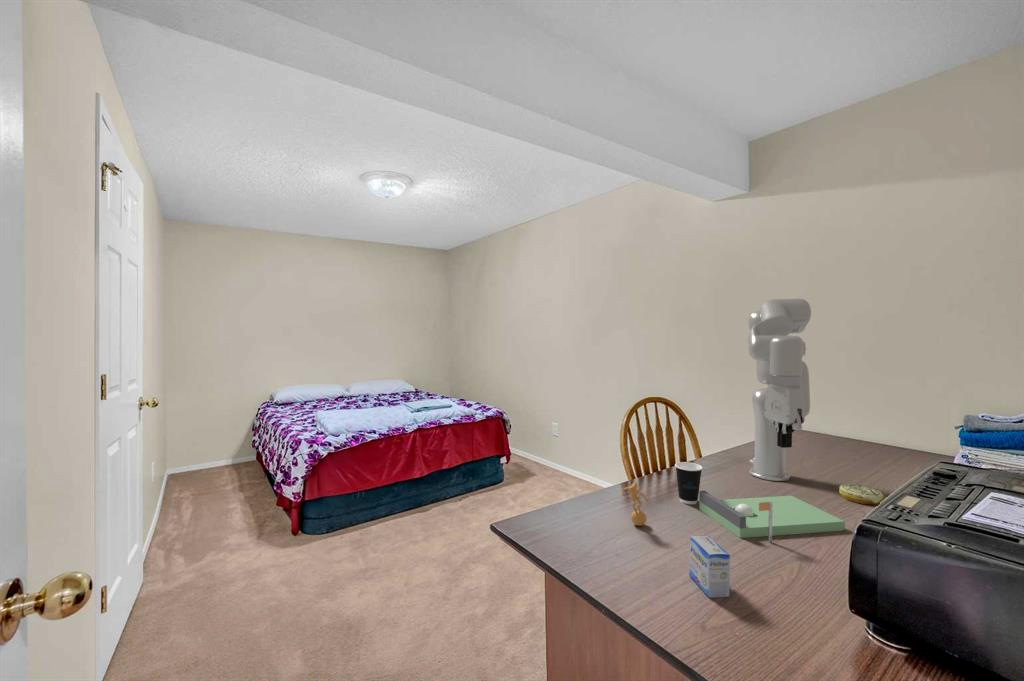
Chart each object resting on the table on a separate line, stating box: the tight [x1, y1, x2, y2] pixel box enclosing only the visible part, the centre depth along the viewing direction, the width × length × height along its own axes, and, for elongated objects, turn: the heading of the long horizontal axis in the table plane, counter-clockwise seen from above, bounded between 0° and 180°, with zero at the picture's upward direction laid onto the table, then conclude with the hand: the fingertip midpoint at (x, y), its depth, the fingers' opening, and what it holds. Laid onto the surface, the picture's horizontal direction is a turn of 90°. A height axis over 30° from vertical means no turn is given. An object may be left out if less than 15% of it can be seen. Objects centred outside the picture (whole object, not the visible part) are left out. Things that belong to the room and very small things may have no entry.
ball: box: [735, 504, 753, 517], centre depth 118 cm, size 4×4×4 cm
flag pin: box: [759, 501, 773, 544], centre depth 107 cm, size 1×4×10 cm, turn 99°
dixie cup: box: [674, 461, 703, 505], centre depth 133 cm, size 8×8×11 cm
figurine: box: [621, 482, 651, 527], centre depth 116 cm, size 8×6×12 cm
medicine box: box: [688, 535, 731, 599], centre depth 88 cm, size 8×4×9 cm, turn 5°
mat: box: [698, 490, 846, 539], centre depth 120 cm, size 18×30×5 cm, turn 98°
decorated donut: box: [838, 483, 884, 506], centre depth 134 cm, size 10×11×4 cm
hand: (784, 446), depth 121 cm, fingers closed
